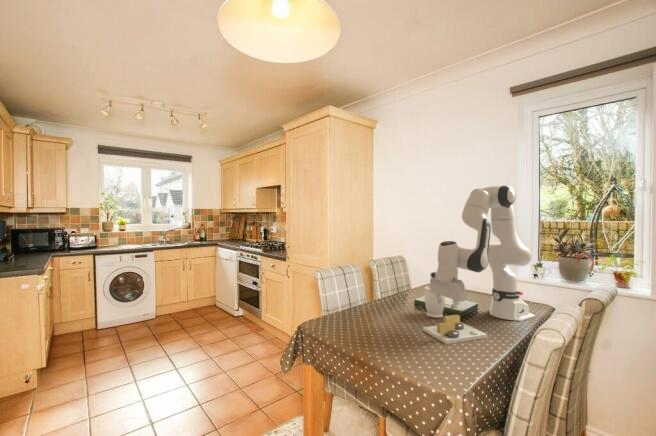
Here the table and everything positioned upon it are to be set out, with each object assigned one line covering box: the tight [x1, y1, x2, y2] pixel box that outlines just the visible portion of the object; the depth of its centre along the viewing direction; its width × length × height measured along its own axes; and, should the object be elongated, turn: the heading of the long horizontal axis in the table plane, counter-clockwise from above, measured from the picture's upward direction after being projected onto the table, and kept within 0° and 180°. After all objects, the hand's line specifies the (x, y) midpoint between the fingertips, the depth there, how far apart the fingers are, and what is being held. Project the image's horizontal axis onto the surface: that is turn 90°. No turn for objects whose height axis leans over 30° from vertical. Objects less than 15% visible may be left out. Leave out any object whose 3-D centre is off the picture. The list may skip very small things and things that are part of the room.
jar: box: [424, 285, 446, 319], centre depth 164 cm, size 11×10×15 cm
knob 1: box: [442, 314, 465, 329], centre depth 143 cm, size 10×6×6 cm, turn 109°
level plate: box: [422, 321, 488, 345], centre depth 139 cm, size 22×16×2 cm
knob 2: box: [436, 322, 459, 338], centre depth 133 cm, size 10×6×6 cm, turn 109°
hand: (446, 306), depth 141 cm, fingers open, 8 cm apart
